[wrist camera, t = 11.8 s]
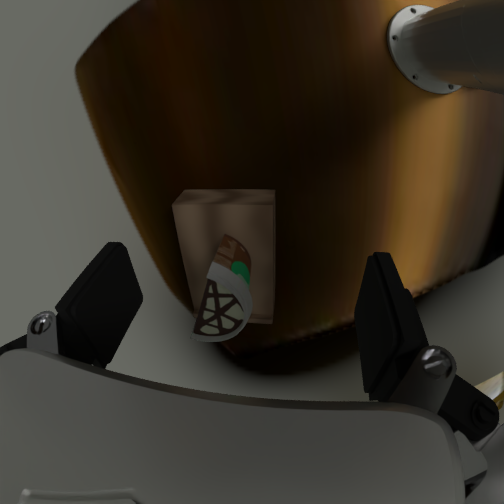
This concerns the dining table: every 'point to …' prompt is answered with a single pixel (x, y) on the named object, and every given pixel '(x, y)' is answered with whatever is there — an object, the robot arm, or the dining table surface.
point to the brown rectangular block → (237, 226)
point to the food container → (225, 294)
